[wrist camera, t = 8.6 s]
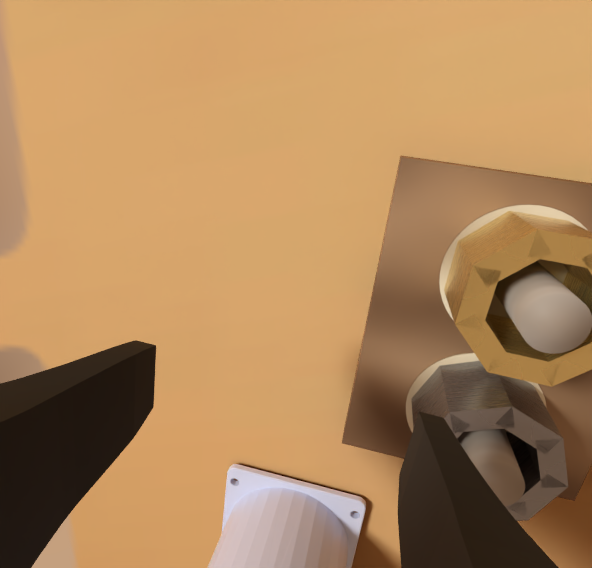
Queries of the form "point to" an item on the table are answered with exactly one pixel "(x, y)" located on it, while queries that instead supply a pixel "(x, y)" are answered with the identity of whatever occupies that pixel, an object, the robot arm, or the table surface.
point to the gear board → (439, 322)
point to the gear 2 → (501, 425)
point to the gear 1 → (502, 263)
